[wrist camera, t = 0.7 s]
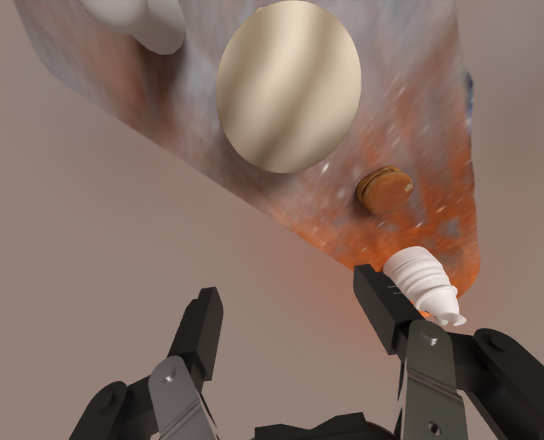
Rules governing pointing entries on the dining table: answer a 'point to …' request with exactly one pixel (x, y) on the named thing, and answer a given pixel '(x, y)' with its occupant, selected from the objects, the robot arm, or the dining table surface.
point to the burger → (385, 190)
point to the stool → (288, 86)
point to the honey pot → (424, 283)
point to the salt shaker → (142, 21)
